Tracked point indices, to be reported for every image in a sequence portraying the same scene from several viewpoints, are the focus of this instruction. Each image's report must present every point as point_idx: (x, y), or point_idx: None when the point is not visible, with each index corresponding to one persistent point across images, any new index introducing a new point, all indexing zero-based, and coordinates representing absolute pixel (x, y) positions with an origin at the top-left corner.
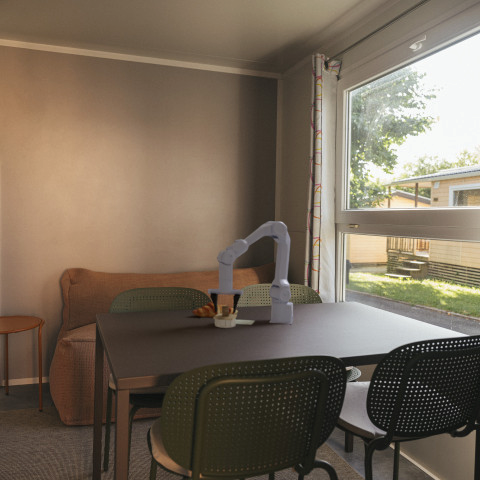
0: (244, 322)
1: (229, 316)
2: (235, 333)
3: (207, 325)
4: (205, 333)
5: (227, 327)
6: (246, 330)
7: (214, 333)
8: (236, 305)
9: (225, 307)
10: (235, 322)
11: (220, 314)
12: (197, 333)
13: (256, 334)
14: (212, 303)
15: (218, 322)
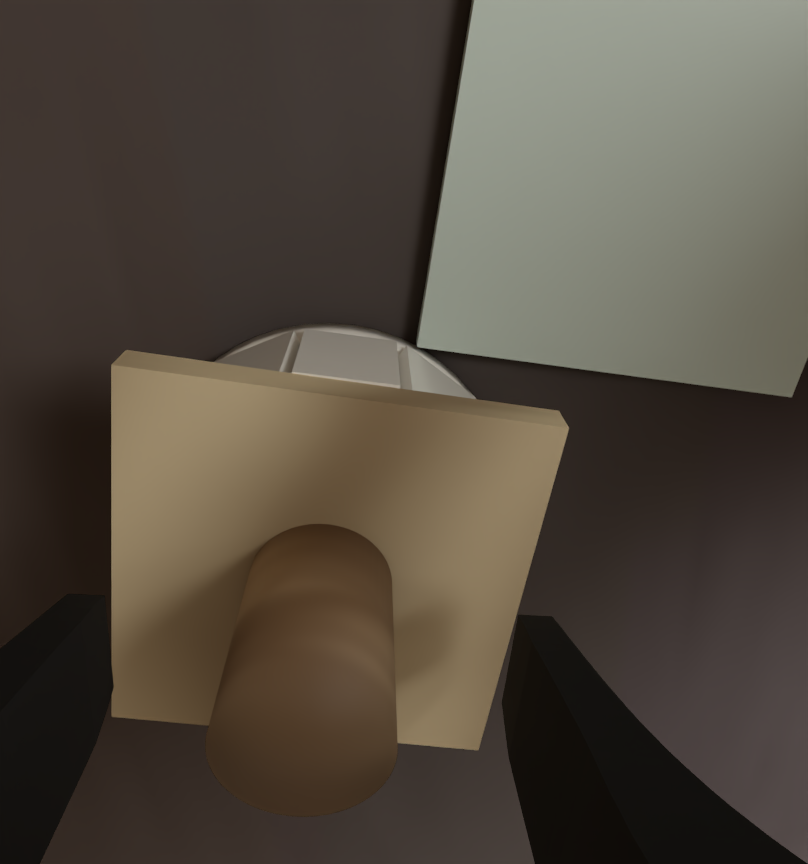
0: (682, 238)
1: (412, 625)
2: (505, 802)
3: (24, 467)
4: (146, 841)
5: None
6: (655, 669)
7: (253, 830)
8: (620, 731)
9: (316, 802)
10: None
11: (186, 472)
12: (51, 851)
13: (753, 809)
14: None
15: None
